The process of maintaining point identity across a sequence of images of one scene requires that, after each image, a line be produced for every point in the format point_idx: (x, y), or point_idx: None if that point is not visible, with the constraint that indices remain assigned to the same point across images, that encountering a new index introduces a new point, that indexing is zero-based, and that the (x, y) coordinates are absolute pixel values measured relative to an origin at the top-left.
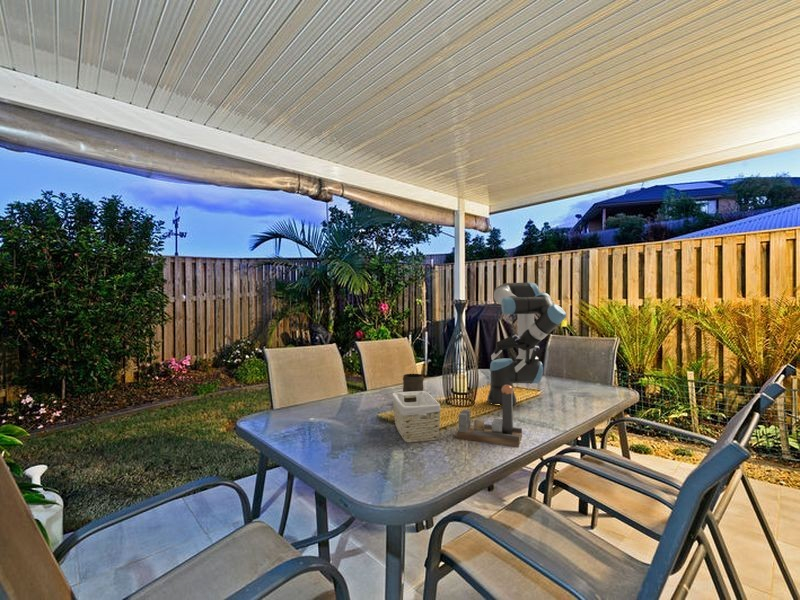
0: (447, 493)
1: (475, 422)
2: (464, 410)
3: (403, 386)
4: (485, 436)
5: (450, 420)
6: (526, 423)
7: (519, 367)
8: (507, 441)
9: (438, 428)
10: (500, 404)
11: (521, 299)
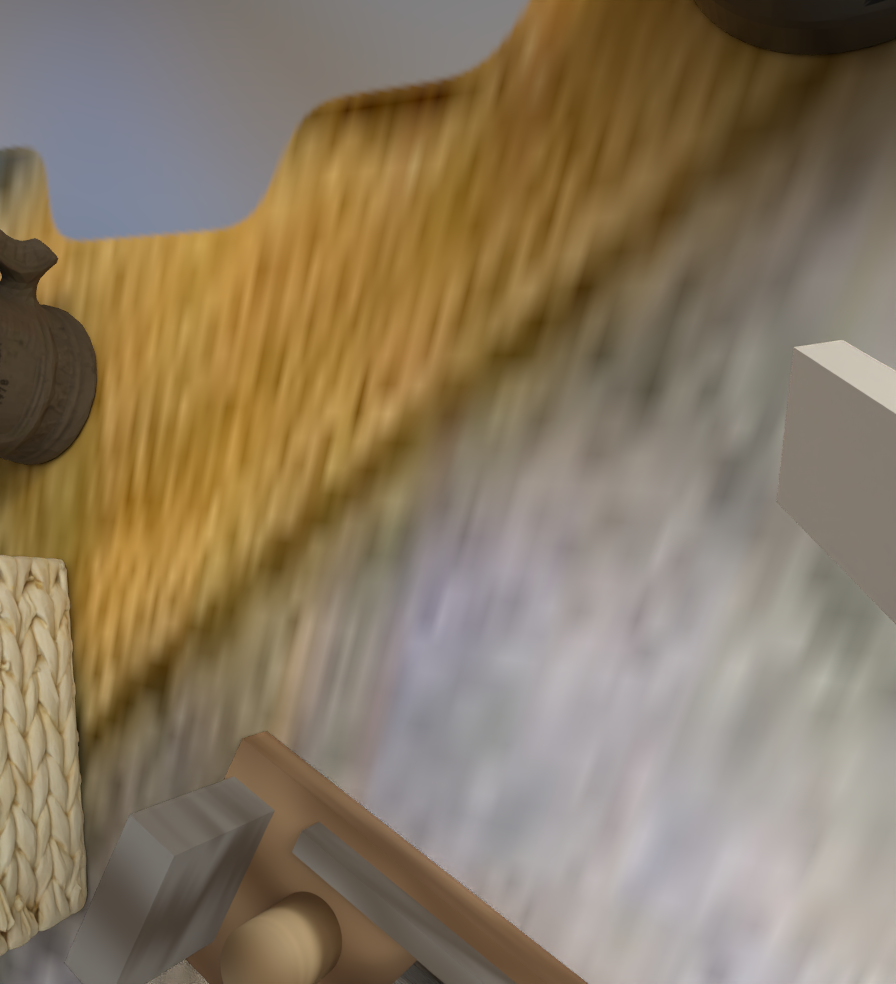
0: None
1: (225, 981)
2: (128, 856)
3: None
4: None
5: (225, 515)
6: (869, 695)
7: (881, 590)
8: None
9: (17, 946)
10: (782, 40)
11: None
